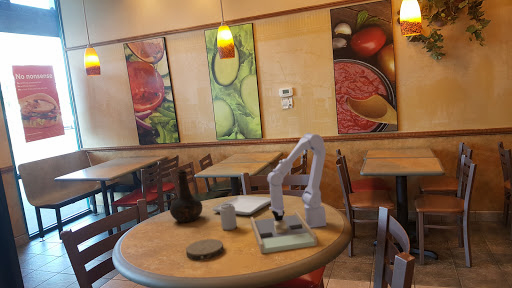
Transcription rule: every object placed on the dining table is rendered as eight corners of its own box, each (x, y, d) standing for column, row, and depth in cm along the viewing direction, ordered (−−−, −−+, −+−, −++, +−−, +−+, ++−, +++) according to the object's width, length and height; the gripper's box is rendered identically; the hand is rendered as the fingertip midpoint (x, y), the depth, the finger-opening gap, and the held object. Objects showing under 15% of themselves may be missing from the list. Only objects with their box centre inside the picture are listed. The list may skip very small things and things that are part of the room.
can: (234, 230, 188) (232, 207, 187) (220, 230, 190) (217, 207, 188) (238, 225, 196) (236, 202, 194) (224, 225, 197) (221, 202, 196)
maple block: (285, 228, 179) (284, 219, 179) (287, 231, 174) (286, 223, 174) (274, 229, 179) (273, 221, 178) (276, 233, 174) (275, 224, 173)
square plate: (275, 203, 228) (275, 197, 227) (250, 218, 205) (249, 211, 204) (238, 200, 242) (237, 194, 242) (210, 214, 219) (210, 207, 219)
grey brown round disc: (188, 248, 173) (187, 241, 173) (223, 243, 174) (223, 237, 174) (184, 263, 158) (184, 256, 157) (223, 258, 159) (222, 251, 158)
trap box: (297, 218, 197) (296, 210, 196) (317, 245, 161) (316, 236, 161) (251, 224, 194) (250, 217, 193) (261, 253, 159) (260, 244, 158)
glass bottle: (185, 213, 225) (179, 166, 221) (210, 215, 217) (204, 166, 213) (164, 223, 210) (157, 173, 206) (190, 226, 201) (184, 174, 197)
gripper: (265, 194, 185) (268, 221, 187) (270, 202, 171) (273, 232, 173) (280, 192, 186) (282, 219, 188) (286, 200, 172) (288, 230, 173)
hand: (279, 225), depth 180 cm, fingers closed
